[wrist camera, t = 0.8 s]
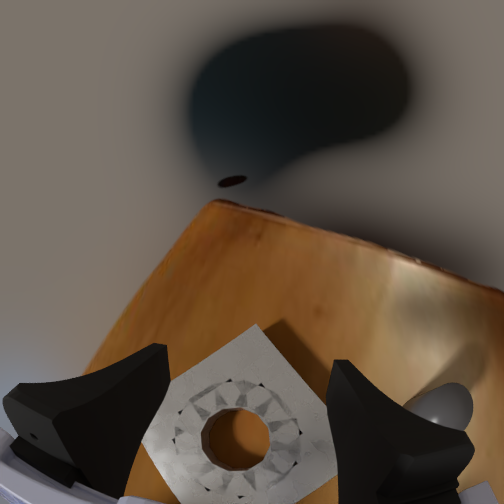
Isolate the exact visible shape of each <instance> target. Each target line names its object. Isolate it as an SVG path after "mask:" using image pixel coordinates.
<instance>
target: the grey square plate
mask: <svg viewBox="0 0 504 504" xmlns="http://www.w3.org/2000/svg"><path fill="white" fill-rule="evenodd" d="M264 387H265V388H264ZM238 410H248V411H250V412H252V413H255V414H257V415H258V416H259V417H260V418H261V420H262V421H263V422H264V423H265V425H266V426H267V427H268V428H269V437H270V447H269V449H268V451H267V453H266V455H265V457H264V459H263V461H261V462H260V463H258V464H257V465H255V466H253V467H252V468H233V467H230V466H228V465H226V464H224V463H222V462H220V461H219V460H218V459H217V457H216V456H215V455H214V453H213V452H212V450H211V449H210V441H209V432H210V430H211V428H212V426H213V424H214V422H215V421H216V419H218V418H219V417H221V416H223V415H224V414H226V413H227V412H229V411H238ZM299 429H300V431H301V432H302V433H303V434H301V435H299ZM141 442H142V443H143V445H144V447H145V449H146V450H147V452H148V454H149V456H150V457H151V459H152V461H153V462H154V464H155V465H156V467H157V469H158V470H159V472H160V473H161V475H162V477H163V478H164V480H165V481H166V483H167V484H168V486H169V487H170V489H171V490H172V492H173V493H174V494H175V496H176V497H177V499H178V500H179V501H180V503H181V504H294V503H296V502H297V501H299V500H301V499H302V498H304V497H305V496H307V495H308V494H310V493H311V492H313V491H314V490H316V489H317V488H319V487H320V486H322V485H323V484H324V483H326V482H327V481H329V480H330V479H331V478H333V477H334V476H335V475H337V474H338V471H337V459H336V453H335V448H334V443H333V439H332V434H331V430H330V425H329V420H328V416H327V407H326V405H325V404H324V403H323V402H322V401H321V400H320V399H319V398H318V396H317V395H316V394H315V393H314V392H313V391H312V390H311V388H310V387H309V386H308V385H307V384H306V383H305V382H304V380H303V379H302V378H301V377H300V376H299V375H298V373H297V372H296V371H295V370H294V369H293V368H292V366H291V365H290V364H289V363H288V362H287V360H286V359H285V358H284V357H283V356H282V355H281V353H280V352H279V351H278V350H277V349H276V347H275V346H274V345H273V344H272V343H271V341H270V340H269V339H268V338H267V337H266V335H265V334H264V333H263V332H262V330H261V329H260V328H259V327H258V326H257V324H255V325H253V326H252V327H251V328H249V329H248V330H246V331H245V332H244V333H242V334H241V335H239V336H238V337H237V338H235V339H234V340H232V341H231V342H229V343H228V344H226V345H225V346H224V347H222V348H221V349H219V350H218V351H216V352H215V353H213V354H212V355H210V356H209V357H207V358H206V359H204V360H203V361H201V362H200V363H198V364H197V365H195V366H194V367H192V368H191V369H189V370H188V371H186V372H185V373H183V374H182V375H180V376H179V377H177V378H175V379H174V380H172V381H171V382H170V385H169V388H168V391H167V393H166V396H165V398H164V400H163V402H162V404H161V406H160V408H159V410H158V411H157V413H156V415H155V417H154V419H153V420H152V422H151V424H150V426H149V427H148V429H147V431H146V433H145V435H144V437H143V439H142V441H141ZM295 461H296V463H295V464H294V462H295Z"/></svg>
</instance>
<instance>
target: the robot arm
mask: <svg viewBox="0 0 504 504" xmlns="http://www.w3.org/2000/svg"><path fill="white" fill-rule="evenodd" d="M170 382H171V379H170V371H169V362H168V352H167V345H163V344H157V343H153V344H151V345H149V346H147V347H145V348H143V349H141V350H140V351H138V352H136V353H134V354H132V355H130V356H128V357H127V358H125V359H123V360H121V361H119V362H117V363H114V364H112V365H110V366H108V367H106V368H103V369H101V370H98V371H96V372H93V373H90V374H87V375H84V376H80V377H76V378H72V379H67V380H62V381H56V382H46V383H19V384H18V385H17V386H16V387H15V388H14V389H12V390H11V391H10V392H9V393H8V394H7V395H6V396H5V397H4V398H3V406H4V410H5V412H6V414H7V416H8V418H9V420H10V422H11V423H12V425H13V427H14V429H15V430H16V432H17V434H18V435H19V436H18V437H17V438H16V439H14V438H13V437H12V436H11V435H10V434H9V433H7V432H6V431H4V430H3V429H2V428H0V495H1V496H2V497H3V498H4V499H5V500H7V501H8V502H9V503H10V504H164V503H161V502H157V501H154V500H150V499H146V498H142V497H137V496H127V497H123V496H124V492H125V488H126V484H127V481H128V478H129V474H130V471H131V468H132V465H133V462H134V459H135V457H136V454H137V451H138V449H139V446H140V444H141V441H142V439H143V437H144V435H145V433H146V431H147V429H148V427H149V426H150V424H151V422H152V420H153V419H154V417H155V415H156V413H157V411H158V410H159V408H160V406H161V404H162V402H163V400H164V398H165V396H166V393H167V391H168V388H169V385H170ZM326 405H327V416H328V420H329V425H330V430H331V434H332V439H333V443H334V448H335V453H336V459H337V471H338V495H339V501H338V504H498V501H497V499H496V497H495V495H494V493H493V491H492V489H491V487H490V485H489V483H488V481H484V482H482V483H480V484H477V485H475V486H473V487H470V488H468V489H466V490H464V491H462V492H461V493H459V494H458V493H457V491H456V488H458V486H459V482H458V480H457V477H458V476H459V475H460V474H461V472H462V471H463V470H464V469H465V467H466V466H467V465H468V464H469V462H470V461H471V459H472V457H473V455H474V452H475V449H474V446H473V444H472V442H471V441H470V439H469V437H468V436H467V434H466V432H465V431H461V430H457V429H453V428H449V427H445V426H442V425H439V424H437V423H434V422H431V421H429V420H426V419H424V418H422V417H420V416H418V415H416V414H414V413H412V412H410V411H408V410H407V409H405V408H403V407H402V406H400V405H399V404H397V403H396V402H394V401H393V400H391V399H390V398H389V397H387V396H386V395H385V394H384V393H383V392H381V391H380V390H379V389H378V388H377V387H375V386H374V385H373V384H372V383H371V382H370V381H369V380H368V379H367V378H366V377H365V376H364V375H363V374H362V373H361V372H360V371H359V370H358V369H357V368H356V367H355V366H354V365H353V364H352V363H351V362H350V361H349V360H334V362H333V367H332V372H331V376H330V380H329V385H328V389H327V393H326Z"/></svg>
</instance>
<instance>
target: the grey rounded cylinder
mask: <svg viewBox="0 0 504 504" xmlns="http://www.w3.org/2000/svg"><path fill="white" fill-rule="evenodd" d="M403 408H405V409H407V410H408V411H410V412H412V413H414V414H416V415H418V416H420V417H422V418H424V419H426V420H429V421H431V422H434V423H437V424H439V425H442V426H445V427H449V428H453V429H457V430H461V431H464V430H465V428H466V427H467V426H468V424H469V422H470V420H471V417H472V413H473V400H472V397H471V394H470V392H469V391H468V390H467V389H466V388H465V387H464V386H463V385H461V384H458V383H447V384H444V385H442V386H440V387H438V388H436V389H433V390H431V391H429V392H427V393H424V394H422V395H420V396H417V397H415V398H412V399H410V400H409V401H407V402H406V403H405V404H404V405H403Z"/></svg>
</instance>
